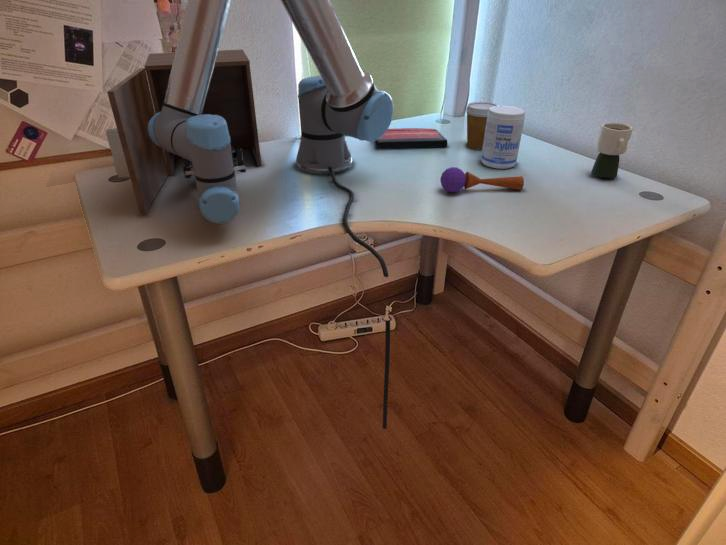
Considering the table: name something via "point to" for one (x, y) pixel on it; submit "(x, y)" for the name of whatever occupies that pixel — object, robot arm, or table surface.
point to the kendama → (475, 180)
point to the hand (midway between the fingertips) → (212, 147)
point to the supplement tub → (502, 136)
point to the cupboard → (136, 108)
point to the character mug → (611, 148)
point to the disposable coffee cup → (477, 123)
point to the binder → (411, 138)
